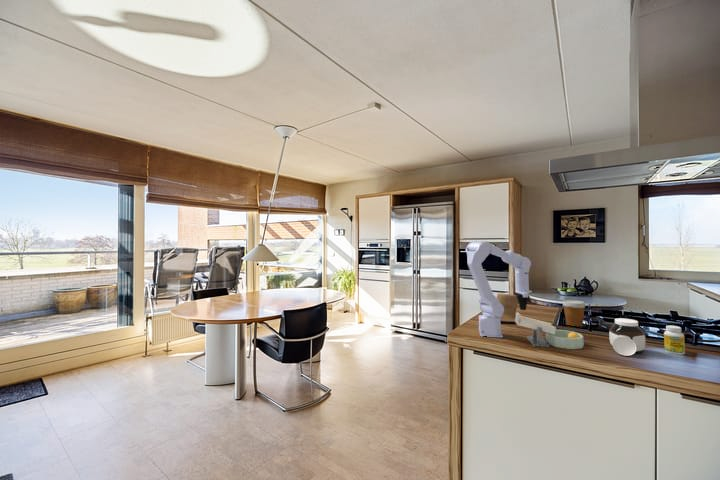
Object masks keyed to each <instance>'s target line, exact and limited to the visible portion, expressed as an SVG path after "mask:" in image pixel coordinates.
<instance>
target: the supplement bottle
mask: <svg viewBox="0 0 720 480" xmlns="http://www.w3.org/2000/svg"><path fill="white" fill-rule="evenodd" d="M665 329H666V330H665V331H664V332H663V338H664V339H663V342H664V351H665V352H666V353H669V354H671V355H679V356H682V355H685V354H686V344H685V342H686V341H685V334H684V333H683V332H682V327H680V326H677V325H671V324H670V325H666V326H665Z"/></svg>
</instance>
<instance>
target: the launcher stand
mask: <svg viewBox="0 0 720 480" xmlns="http://www.w3.org/2000/svg"><path fill="white" fill-rule="evenodd" d="M542 332H543V331H542V328H541V327H538V330H536V329H532V335H526V338H527V340H528V341H529V343H530V342H531V343H530V344H531V345H533V346H532V347H535V346H541V347H540V348H550V346H551V345H550V344H548V343H547V342H546V339H545V338H544V337H543V333H542Z"/></svg>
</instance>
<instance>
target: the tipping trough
mask: <svg viewBox="0 0 720 480" xmlns="http://www.w3.org/2000/svg"><path fill="white" fill-rule="evenodd" d="M514 323H515V324H516V325H517V326H520V327H524V328H529V329H532V330H533V329H536V331H538V327H541V328H542V332H544V333H546V332H548V333H552V334H555V330H557V327H556V326H553V325H552V324H553V323H552V322H546V321H544V320H543V321H542V320H538V319H534V318H531V317H526V316H523V315H522V314H520V312H516V317H515V322H514Z"/></svg>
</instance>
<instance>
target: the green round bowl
mask: <svg viewBox="0 0 720 480" xmlns="http://www.w3.org/2000/svg"><path fill="white" fill-rule="evenodd" d="M571 332H574V333H577V334H578V335H579V338H568V334H569V333H571ZM545 341H546V342H547V343H548V344H549V345H550V346H553V347H555V348H559V349H560V348H561V349H565V348H566V349H567V350H577V349H578V350H579V349H582V348H583V347H584V346H585V345H584V344H585V343H584V342H585V341H584V336H583V334H582V333H579V332H576V331H573V330H567V329H556V330H555V334H552V333H548V332H545ZM566 349H565V350H566Z"/></svg>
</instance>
